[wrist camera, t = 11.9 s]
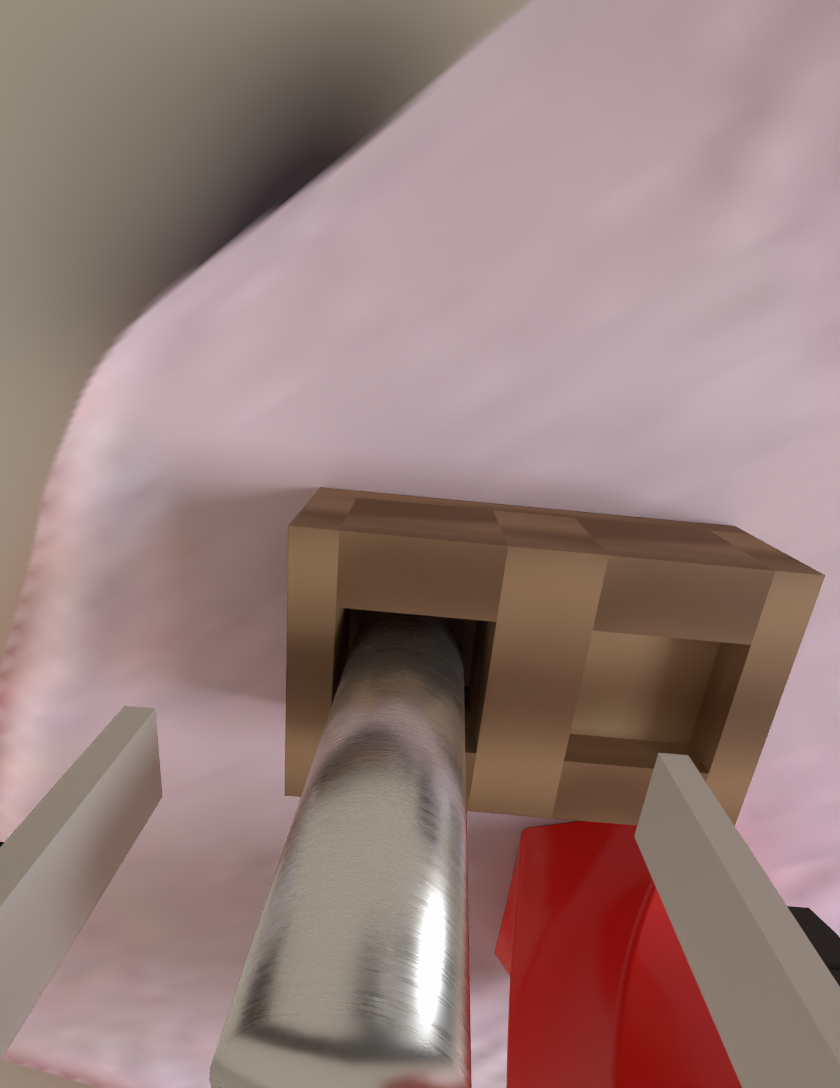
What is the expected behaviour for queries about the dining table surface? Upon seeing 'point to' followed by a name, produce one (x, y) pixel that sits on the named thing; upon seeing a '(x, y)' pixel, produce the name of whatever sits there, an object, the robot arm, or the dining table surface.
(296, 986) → the pin
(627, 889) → the vase
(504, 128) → the dining table surface
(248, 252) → the dining table surface
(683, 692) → the block
